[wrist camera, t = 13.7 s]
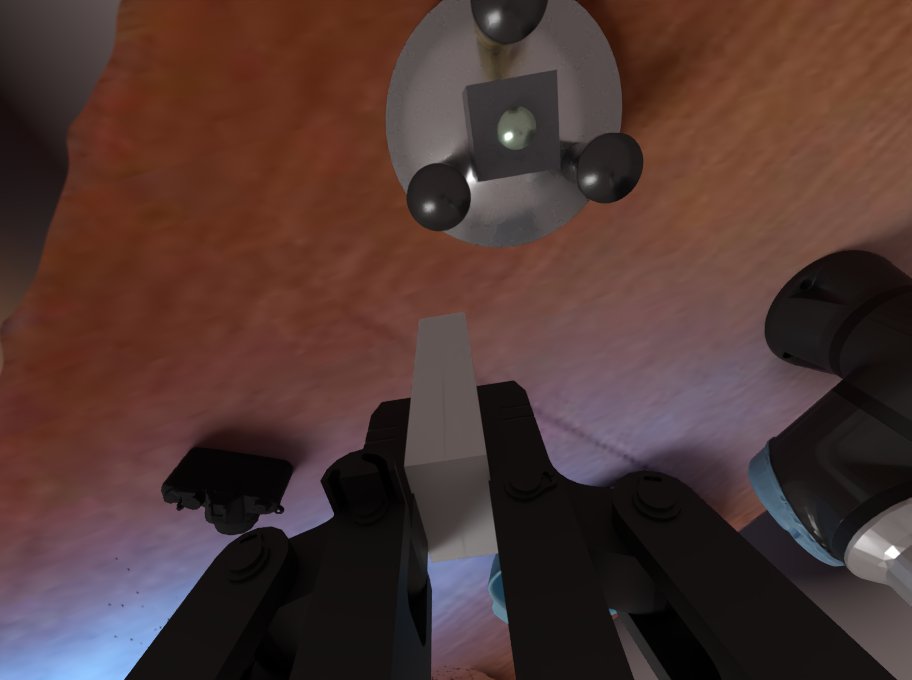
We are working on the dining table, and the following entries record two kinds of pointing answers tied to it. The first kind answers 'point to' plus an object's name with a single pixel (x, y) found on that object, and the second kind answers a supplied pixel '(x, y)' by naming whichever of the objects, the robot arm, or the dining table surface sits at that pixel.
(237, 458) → the film camera
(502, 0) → the brass bar with knob
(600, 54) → the levelling base
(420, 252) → the dining table surface
